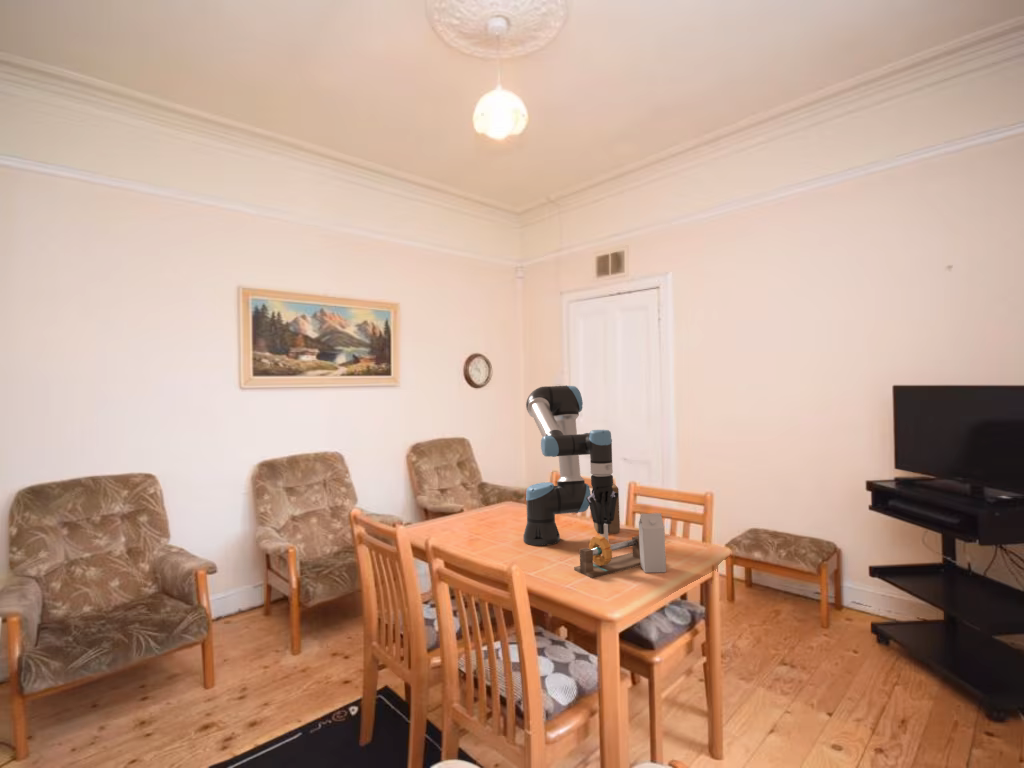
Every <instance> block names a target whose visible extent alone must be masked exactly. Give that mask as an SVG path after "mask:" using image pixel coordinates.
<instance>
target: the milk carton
mask: <svg viewBox="0 0 1024 768" xmlns="http://www.w3.org/2000/svg"><path fill="white" fill-rule="evenodd" d="M639 516H640V517H639V520H638V536H639V544H640V566H639V567H641V569H642V570H643V572H644V573H646V574H647V573H666V572H667V565H666V564H667V563H666V562H667V561H666V556H667V555H666V536H665V535H666V533H665V532H666V531H665V525H664V521H663V517H662V512H658V513H657V512H655V513H640V515H639Z"/></svg>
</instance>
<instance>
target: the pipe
mask: <svg viewBox="0 0 1024 768" xmlns="http://www.w3.org/2000/svg"><path fill="white" fill-rule="evenodd" d="M637 544H638V543H637V540H636V539H633V540H632V539H630V540H624V541H622V542H621V541H620V542H617V543H612V544H610V545H611V547H610V549H612V552H615V551H619V550H623V549H627V548H632V546H636V545H637ZM591 550H593V556H595V555H596V556H597V555H601V556H602V549H601V547H600V546H598V547H596V548H594V549H591Z"/></svg>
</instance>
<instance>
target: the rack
mask: <svg viewBox="0 0 1024 768" xmlns="http://www.w3.org/2000/svg"><path fill="white" fill-rule="evenodd" d="M633 539H636V540H637V543H638V544H637V545H636V546H632V547H631V548H632V552H628V553H626V554H621V555H618V556H617V555H616V556H612V558H611V561H610V562H609V563H608V564H606V565H603V566H600V565H598V564H595V562H594V561H593V550H591V549H589V547H583V548H580V549H579V565H578V566H574V567H573V569H574V571H575V572H577V573H579V574H582V575H584V576H586V577H589V578H590V579H595V578H600V577H604V576H608V575H611V574H614V573H615V574H616V573H619V572H622V571H626V570H630V569H633V568H637V567H641V566H640V544H639V535H636V536H632V537H631V540H633Z"/></svg>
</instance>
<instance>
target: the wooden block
mask: <svg viewBox="0 0 1024 768" xmlns="http://www.w3.org/2000/svg"><path fill="white" fill-rule="evenodd" d="M612 488H613V491H614V492H616V493H618V494H619V491H620V490H619V487H618V486H617V485H616V484H615V483H613V486H612ZM620 526H621V521H620V496H619V495H618V498H617V500H616V508H615V515H614V520H613V521H611V524H609V533H608V534H619V533H620V532H621V527H620ZM593 527H594V529H595V531H596V532H597V534H599V532H598V524H597V523H594V522H593Z"/></svg>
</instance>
